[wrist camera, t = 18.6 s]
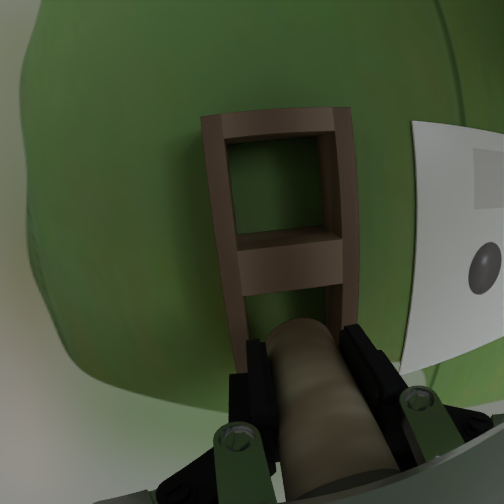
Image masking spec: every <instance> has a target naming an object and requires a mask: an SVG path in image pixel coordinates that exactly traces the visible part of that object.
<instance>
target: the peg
mask: <svg viewBox="0 0 504 504" xmlns="http://www.w3.org/2000/svg"><path fill="white" fill-rule="evenodd" d="M265 343H266V349H267V355H268V361H269V367H270V373H271V379H272V385H273V391H274V397H275V403H276V410H277V419H278V431H279V434H278V437H277V445H278V452H279V458H280V465H281V472H282V478H283V484H284V490H285V498H286V502H290V501H296V500H302V499H308V498H313V497H318V496H323V495H328V494H332V493H336V492H340V491H344V490H348V489H352V488H356V487H359V486H363V485H366V484H369V483H373V482H376V481H379V480H382V479H385V478H388V477H391V476H394V475H396V474H399V473H402V472H401V471H400V469H399V467H398V465H397V463H396V461H395V459H394V457H393V455H392V453H391V451H390V449H389V447H388V445H387V442H386V440H385V438H384V436H383V434H382V432H381V430H380V428H379V426H378V424H377V422H376V420H375V418H374V416H373V414H372V412H371V410H370V408H369V406H368V404H367V402H366V400H365V398H364V397H363V395H362V393H361V391H360V389H359V387H358V385H357V383H356V381H355V379H354V377H353V375H352V373H351V371H350V369H349V367H348V366H347V364H346V362H345V360H344V358H343V356H342V354H341V352H340V350H339V349H338V347H337V345H336V343H335V341H334V339H333V337H332V335H331V334H330V332H329V330H328V329H327V327H326V326H325V325H324V324H322V323H321V322H319V321H317V320H314V319H310V318H296V319H292V320H289V321H286V322H284V323H282V324H280V325H279V326H277V327H276V328H275V329H274V330H273V331H272V332H271V333H270V334H269V336H268V337H267V339H266V341H265Z"/></svg>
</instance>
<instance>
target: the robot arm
mask: <svg viewBox="0 0 504 504" xmlns="http://www.w3.org/2000/svg"><path fill="white" fill-rule="evenodd" d="M339 350H340V352H341V354H342V356H343V358H344V360H345V362H346V364H347V366H348V367H349V369H350V371H351V373H352V375H353V377H354V379H355V381H356V383H357V385H358V387H359V389H360V391H361V393H362V395H363V397H364V398H365V400H366V402H367V404H368V406H369V408H370V410H371V412H372V414H373V416H374V418H375V420H376V422H377V424H378V426H379V428H380V430H381V432H382V434H383V436H384V438H385V440H386V442H387V445H388V447H389V449H390V451H391V453H392V455H393V457H394V459H395V461H396V463H397V465H398V467H399V469H400V471H401V472H402V473H399V474H396V475H394V476H391V477H388V478H385V479H382V480H379V481H376V482H373V483H369V484H366V485H363V486H359V487H356V488H352V489H348V490H344V491H340V492H336V493H332V494H328V495H323V496H318V497H313V498H308V499H302V500H296V501H290V502H283V503H277V500H276V497H275V493H274V489H273V485H272V481H271V476H272V475H273V474H274V473H275V472H276V464H275V462H280V458H279V452H278V445H277V437H278V434H279V431H278V419H277V410H276V403H275V397H274V391H273V385H272V379H271V373H270V367H269V361H268V355H267V349H266V343H265V342H260V339H253V340H246V354H247V371H248V373H238V374H230V375H229V423H227V424H226V425H223V426H221V427H220V428H219V429H218V430H217V431H216V433H215V435H214V438H213V445H214V447H213V448H211V449H210V450H208V451H207V452H206V453H204V454H203V455H201V456H200V457H199V458H197V459H196V460H194V461H193V462H192V463H190V464H189V465H187V466H186V467H184V468H183V469H181V470H180V471H178V472H177V473H175V474H174V475H172V476H171V477H169V478H167V479H166V480H165V481H163V482H162V483H161V484H160V485H159V487H158V488H157V489H156V490H153V491H148V490H143V491H140V492H136V493H132V494H128V495H124V496H120V497H116V498H111V499H107V500H102V501H98V502H95V503H93V504H504V414H496V415H492V416H491V418H490V417H489V416H487V415H486V414H484V413H481V412H477V411H472V410H467V409H462V408H458V407H453V406H448V405H444V404H442V402H441V400H440V399H439V397H438V396H437V394H436V393H435V392H434V391H433V390H432V389H430V388H428V387H425V386H412V387H408V386H407V384H406V383H405V382H404V380H403V379H402V377H401V376H400V374H399V373H398V372H397V370H396V369H395V367H394V366H393V365H392V363H391V362H390V360H389V359H388V358H387V356H386V355H385V354H384V352H383V351H382V350H377V349H376V348H375V346H374V345H373V344H372V342H371V341H370V339H369V338H368V337H367V335H366V334H365V332H364V331H363V330H362V328H361V327H360V326H359V324H352V325H347V326H344V328H343V330H340V332H339Z"/></svg>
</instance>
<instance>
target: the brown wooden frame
mask: <svg viewBox="0 0 504 504" xmlns="http://www.w3.org/2000/svg"><path fill="white" fill-rule="evenodd" d="M201 127H202V136H203V145H204V154H205V163H206V171H207V179H208V187H209V195H210V203H211V211H212V218H213V226H214V233H215V240H216V247H217V254H218V261H219V268H220V275H221V281H222V288H223V294H224V301H225V307H226V313H227V319H228V325H229V331H230V337H231V343H232V349H233V354H234V360H235V366H236V371H237V374H238V373H248V371H247V354H246V340H251V339H250V332H249V324H248V316H247V309H246V301H245V296H250V295H258V294H267V293H275V292H283V291H291V290H298V289H306V288H313V287H320V286H325V326H326V327H327V329H328V330H329V332H330V334H331V335H332V337H333V339H334V341H335V343H336V345H337V347H338V349H339V332H340V330H343V328H344V326H347V325H352V324H357V319H358V299H359V261H360V240H359V202H358V183H357V168H356V155H355V145H354V135H353V126H352V117H351V109H350V107H303V108H280V109H265V110H253V111H243V112H233V113H225V114H217V115H209V116H202V117H201ZM311 137H316V142H317V152H318V162H319V174H320V186H321V200H322V216H323V225H321V226H311V227H301V228H292V229H283V230H273V231H264V232H256V233H247V234H238V235H237V228H236V220H235V212H234V203H233V195H232V186H231V177H230V169H229V160H228V151H227V144H235V143H244V142H254V141H265V140H278V139H292V138H311Z"/></svg>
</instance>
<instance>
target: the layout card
mask: <svg viewBox="0 0 504 504" xmlns="http://www.w3.org/2000/svg"><path fill="white" fill-rule="evenodd" d="M411 125H412V134H413V145H414V158H415V176H416V242H415V260H414V273H413V284H412V294H411V302H410V310H409V317H408V324H407V330H406V337H405V342H404V348H403V353H402V358H401V363H400V368H399V372H398V373H399V374H400V376H401V375H404V374H407V373H410V372H413V371H417V370H420V369H423V368H426V367H429V366H432V365H435V364H438V363H440V362H443V361H446V360H448V359H451V358H454V357H456V356H459V355H461V354H464V353H466V352H469V351H471V350H474V349H476V348H478V347H481V346H483V345H485V344H487V343H490V342H492V341H494V340H496V339H498V338H500V337H502V336H504V134H500V133H495V132H490V131H485V130H479V129H474V128H468V127H462V126H455V125H448V124H440V123H432V122H422V121H411Z"/></svg>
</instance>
